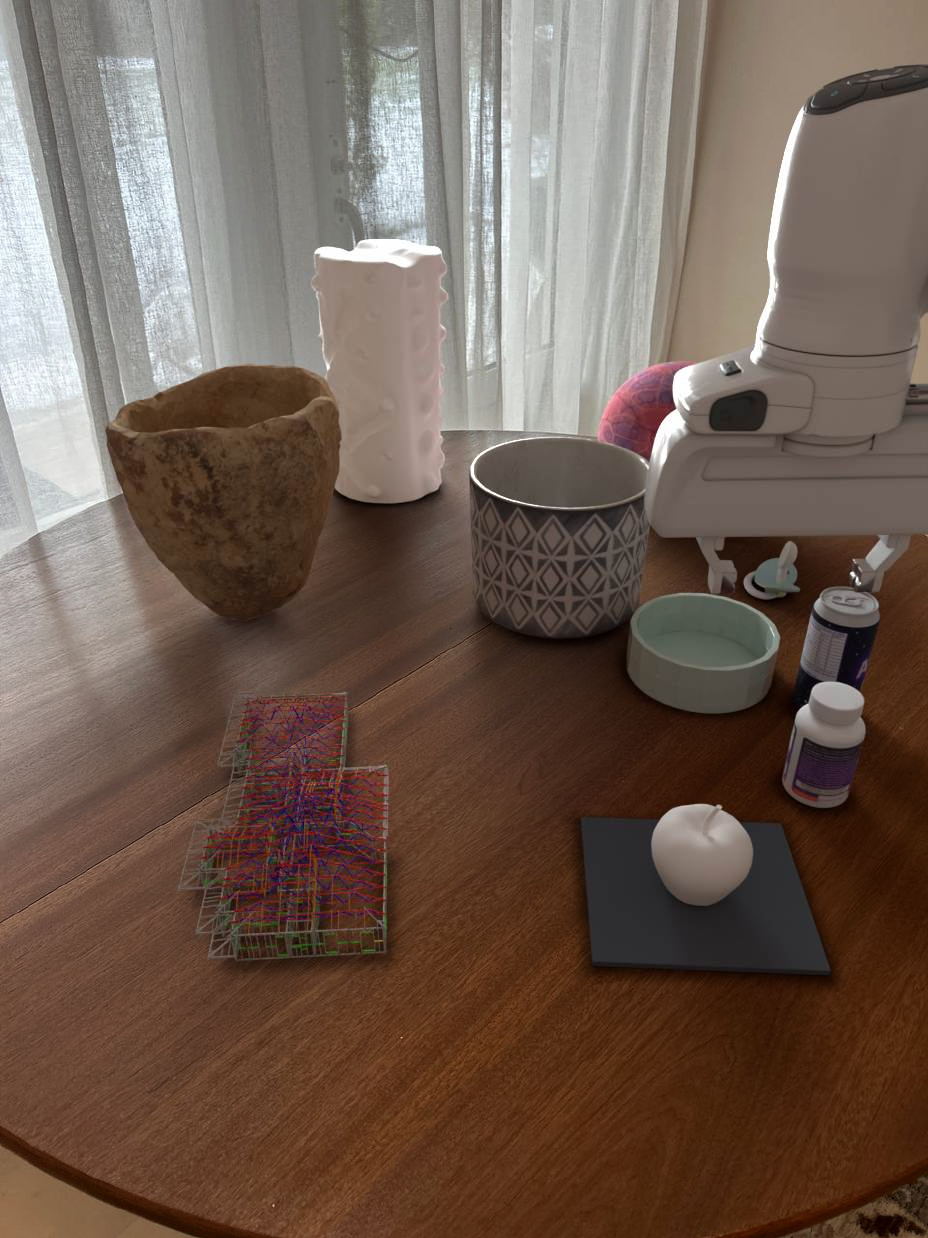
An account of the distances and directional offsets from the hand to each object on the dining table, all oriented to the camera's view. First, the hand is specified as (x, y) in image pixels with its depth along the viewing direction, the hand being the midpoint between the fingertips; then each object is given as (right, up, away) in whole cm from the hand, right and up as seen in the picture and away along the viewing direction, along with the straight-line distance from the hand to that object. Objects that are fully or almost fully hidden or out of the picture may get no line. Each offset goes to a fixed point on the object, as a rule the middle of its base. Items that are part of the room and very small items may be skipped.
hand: (791, 589), depth 62 cm
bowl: (-46, -1, +42) cm, 62 cm away
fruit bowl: (+2, -7, +31) cm, 32 cm away
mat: (-5, -22, +7) cm, 24 cm away
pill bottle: (+8, -17, +17) cm, 25 cm away
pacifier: (+13, +1, +45) cm, 47 cm away
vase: (-33, +18, +72) cm, 81 cm away
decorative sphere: (+6, +12, +64) cm, 65 cm away
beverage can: (+12, -11, +26) cm, 31 cm away
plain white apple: (-5, -22, +7) cm, 24 cm away
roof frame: (-36, -19, +14) cm, 42 cm away
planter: (-12, -1, +42) cm, 44 cm away
